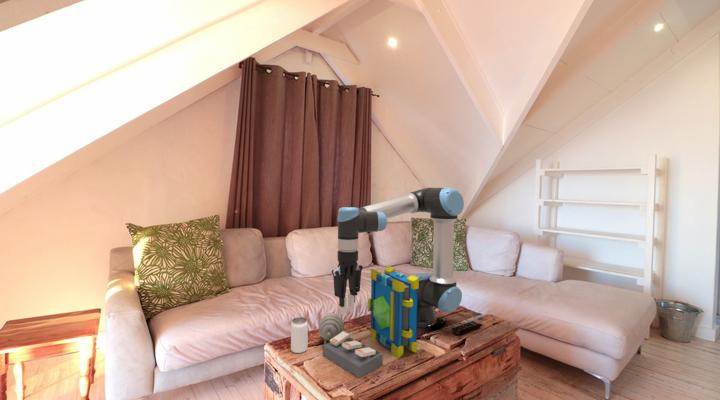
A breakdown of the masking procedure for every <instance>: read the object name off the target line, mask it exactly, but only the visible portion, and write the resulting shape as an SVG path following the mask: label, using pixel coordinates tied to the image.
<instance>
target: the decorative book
mask: <svg viewBox="0 0 720 400" xmlns="http://www.w3.org/2000/svg"><path fill="white" fill-rule="evenodd" d="M370 279H371V288H370V289H371V290H370V291H371V292H370V294H371V295H370V296H371V297H369V298H368V300H367V301H368V302H367V311H368V312H370V338H371V340H373V339H374V340H375V341H374V340H373V341H374V342H377V341H379V342H380V343H381V344H382V345H383V346H384V347H386V348H387V349H389V350H390V351H391V352H390V354H391V355H392V356H393V357H394V358H396V359H397V360H399V359H400V358H402V356H403V355H404V347H405V348H406V349H408V350H409V351H411V352H412V353H418V342H417V340H418V339H417V336H418V334H417V333H418V332H417V330H418V327H417V292H418V289H419V278H418V277H416V276H413V275H412V274H411V275H410V276H407V274H405V273H402V272H398V271H396V268H395V267H392V266H390V265H389V266H387V267H385V268H384V269H383V275H382V272H380V271H378V270H376V269H373V268H370Z"/></svg>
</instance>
